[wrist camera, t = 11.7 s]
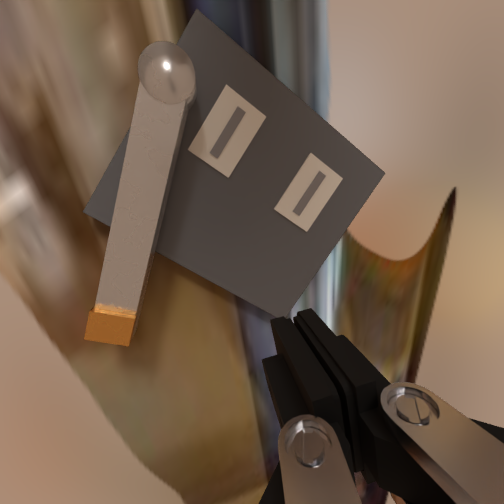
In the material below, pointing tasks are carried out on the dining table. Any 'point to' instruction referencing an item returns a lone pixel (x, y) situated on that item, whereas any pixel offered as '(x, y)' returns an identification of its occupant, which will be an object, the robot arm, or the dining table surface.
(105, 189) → the tray
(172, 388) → the dining table surface
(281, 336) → the robot arm
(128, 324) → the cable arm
